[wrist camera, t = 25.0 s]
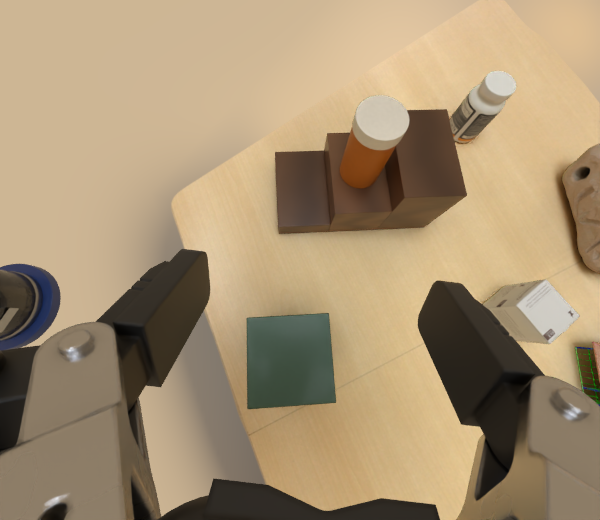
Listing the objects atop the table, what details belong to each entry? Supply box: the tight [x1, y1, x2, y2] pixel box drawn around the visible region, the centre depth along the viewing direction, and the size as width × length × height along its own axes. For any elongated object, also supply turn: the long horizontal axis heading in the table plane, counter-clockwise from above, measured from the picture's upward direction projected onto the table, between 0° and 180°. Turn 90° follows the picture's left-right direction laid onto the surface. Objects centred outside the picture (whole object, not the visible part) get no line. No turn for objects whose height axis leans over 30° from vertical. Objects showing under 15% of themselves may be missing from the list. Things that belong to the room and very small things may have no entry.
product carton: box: [482, 280, 580, 344], centre depth 37 cm, size 6×6×7 cm
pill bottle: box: [449, 71, 516, 143], centre depth 43 cm, size 6×6×10 cm
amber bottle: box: [340, 95, 409, 188], centre depth 33 cm, size 6×6×10 cm
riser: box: [275, 109, 467, 234], centre depth 39 cm, size 24×13×11 cm, turn 93°
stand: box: [247, 313, 336, 409], centre depth 31 cm, size 8×8×14 cm
